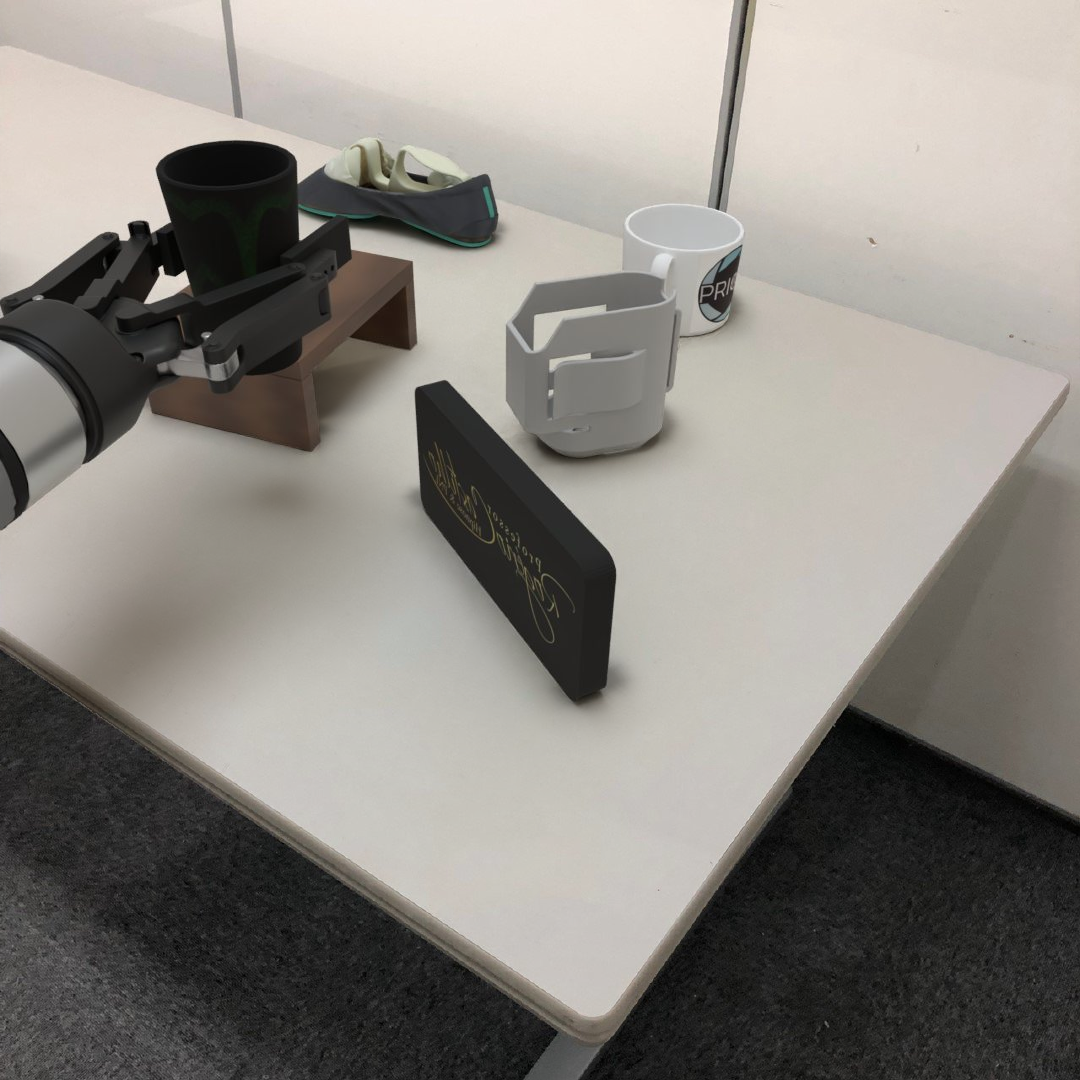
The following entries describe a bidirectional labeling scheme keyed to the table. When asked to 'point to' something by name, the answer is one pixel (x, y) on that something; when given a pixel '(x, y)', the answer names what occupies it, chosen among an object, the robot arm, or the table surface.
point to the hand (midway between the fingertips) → (285, 225)
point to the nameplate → (517, 539)
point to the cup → (233, 216)
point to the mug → (687, 258)
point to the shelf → (305, 358)
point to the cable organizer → (595, 362)
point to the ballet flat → (403, 192)
